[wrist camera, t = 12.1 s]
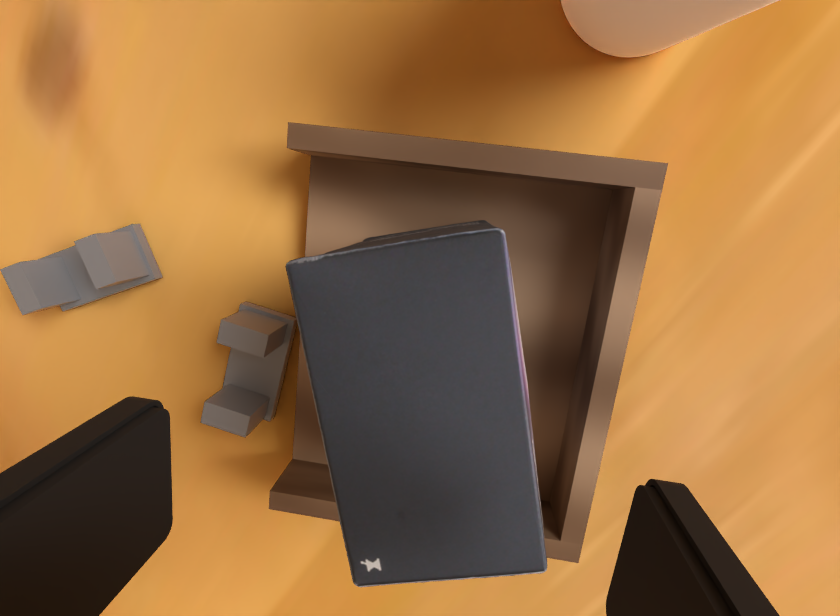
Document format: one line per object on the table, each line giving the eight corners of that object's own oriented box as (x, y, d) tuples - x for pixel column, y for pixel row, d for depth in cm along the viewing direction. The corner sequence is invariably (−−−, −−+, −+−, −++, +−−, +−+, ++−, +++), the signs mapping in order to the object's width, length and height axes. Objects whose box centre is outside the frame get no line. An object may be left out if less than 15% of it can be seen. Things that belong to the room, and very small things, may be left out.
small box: (521, 423, 24) (559, 585, 14) (397, 436, 25) (346, 597, 15) (494, 215, 22) (515, 223, 12) (360, 237, 23) (270, 262, 13)
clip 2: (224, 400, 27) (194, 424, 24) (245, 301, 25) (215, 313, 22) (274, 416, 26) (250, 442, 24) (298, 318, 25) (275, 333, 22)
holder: (318, 136, 23) (288, 122, 19) (632, 171, 22) (667, 163, 18) (297, 465, 27) (269, 508, 23) (562, 509, 26) (578, 563, 22)
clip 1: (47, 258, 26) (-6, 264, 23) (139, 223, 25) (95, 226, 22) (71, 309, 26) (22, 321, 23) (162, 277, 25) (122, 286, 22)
